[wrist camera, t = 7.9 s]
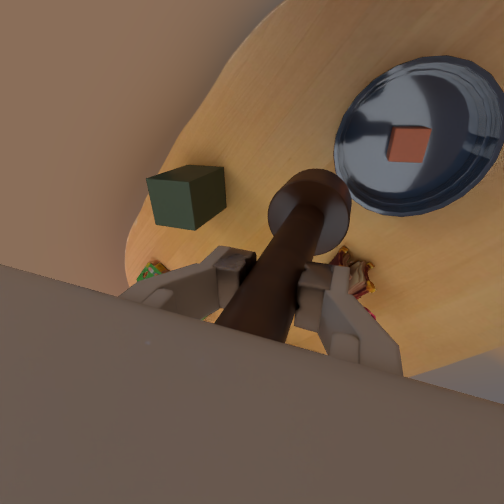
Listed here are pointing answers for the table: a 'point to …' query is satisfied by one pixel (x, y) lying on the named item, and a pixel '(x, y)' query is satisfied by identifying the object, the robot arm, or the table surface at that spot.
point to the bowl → (440, 141)
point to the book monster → (356, 275)
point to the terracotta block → (408, 144)
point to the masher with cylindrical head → (289, 252)
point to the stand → (187, 196)
